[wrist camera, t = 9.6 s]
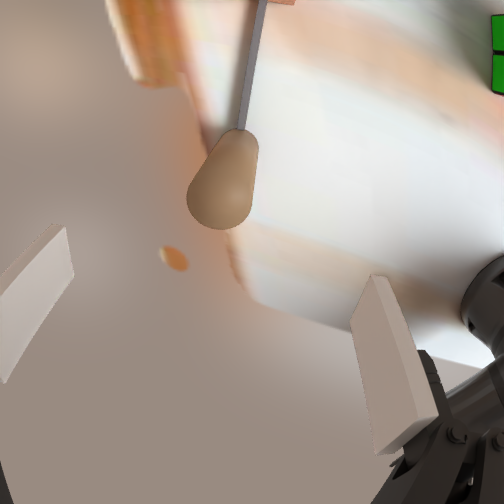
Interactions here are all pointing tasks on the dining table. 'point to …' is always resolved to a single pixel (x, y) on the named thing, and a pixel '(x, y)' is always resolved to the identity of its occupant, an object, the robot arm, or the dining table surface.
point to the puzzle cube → (498, 54)
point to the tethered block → (230, 159)
